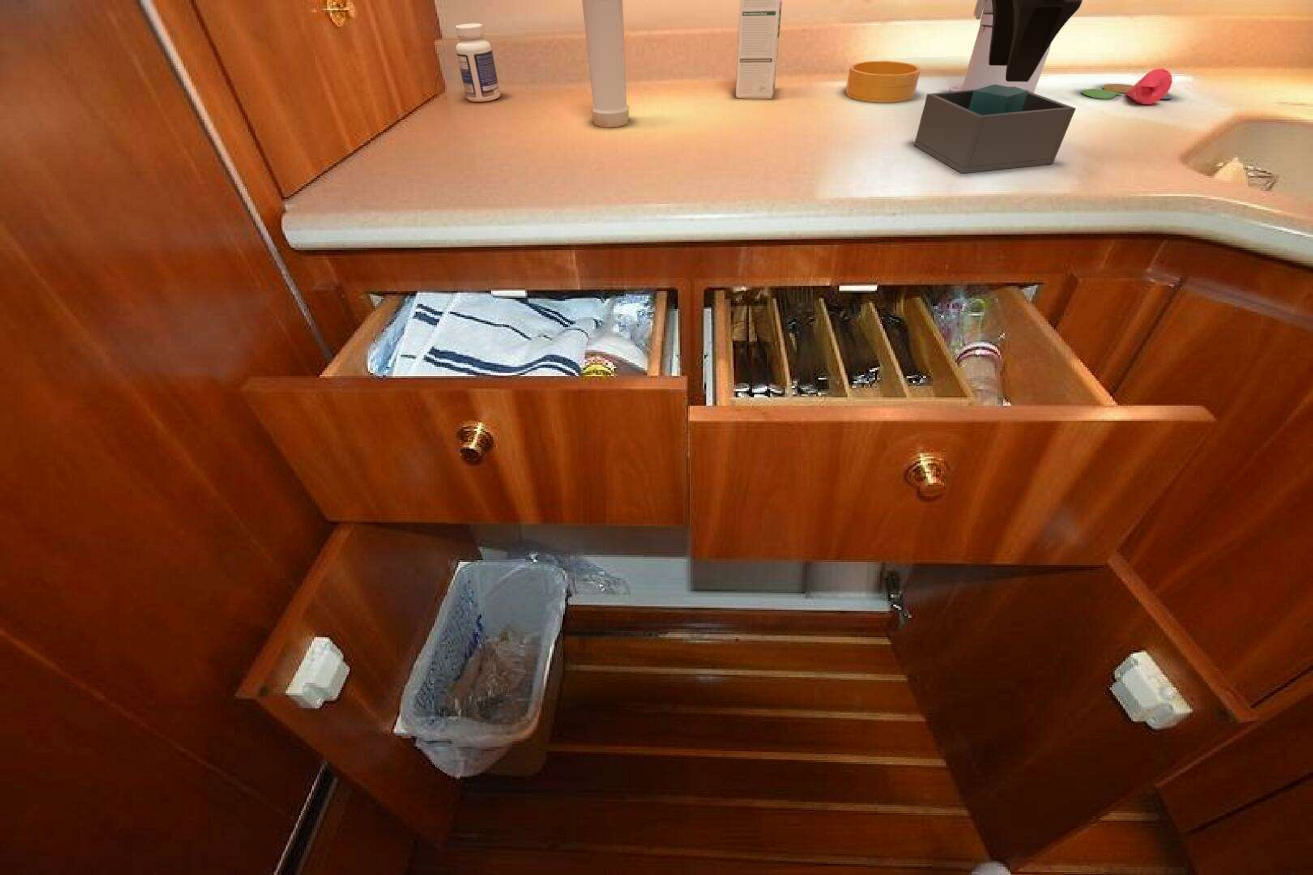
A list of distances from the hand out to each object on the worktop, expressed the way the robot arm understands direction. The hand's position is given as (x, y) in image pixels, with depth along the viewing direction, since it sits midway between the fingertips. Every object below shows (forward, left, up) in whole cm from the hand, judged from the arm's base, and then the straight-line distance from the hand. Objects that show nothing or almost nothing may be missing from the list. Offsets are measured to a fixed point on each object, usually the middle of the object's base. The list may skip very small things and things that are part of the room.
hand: (1007, 72), depth 63 cm
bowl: (-2, -29, -8) cm, 30 cm away
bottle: (+40, -26, -8) cm, 48 cm away
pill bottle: (+58, -46, -8) cm, 75 cm away
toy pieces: (-35, -17, -8) cm, 40 cm away
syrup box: (+16, -35, -8) cm, 39 cm away
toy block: (0, 0, -8) cm, 8 cm away
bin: (0, 0, -8) cm, 8 cm away
